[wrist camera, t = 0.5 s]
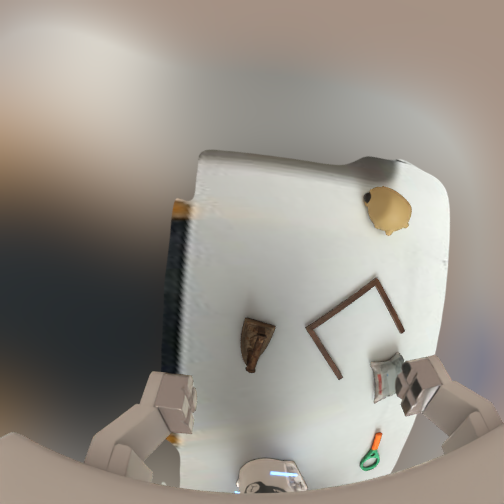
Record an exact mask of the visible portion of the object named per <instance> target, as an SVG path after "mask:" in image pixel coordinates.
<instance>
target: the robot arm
mask: <svg viewBox="0 0 504 504" xmlns="http://www.w3.org/2000/svg"><path fill="white" fill-rule="evenodd" d="M401 369H402V372H400V373H399V374H398V375H397V377H396V380H395V392H396V394H397V396H398V397H399V398H401V399H402V402H401V407H402V409H403V412H404V414H405V417H406V416H410V415H414V414H417V413H421V412H422V414H424V415H425V416H426V417H427V418H428V419H429V420H431V421H432V422H433V423H434V424H435V425H436V426H437V427H439V428H440V429H441V430H442V431H443V432H444V433H446V434H447V435H448V436H449V438H448V439H447V440H446V441H445V442H444V443H443V444H442V449H443V452H444V455H442V456H440V457H437V458H435V459H432V460H430V461H427V462H424V463H422V464H419V465H416V466H413V467H411V468H408V469H405V470H402V471H398V472H395V473H392V474H388V475H385V476H381V477H377V478H373V479H369V480H365V481H361V482H356V483H351V484H346V485H341V486H335V487H329V488H322V489H315V490H307V485H306V483H305V481H304V480H303V478H302V476H301V474H300V472H299V470H298V468H297V466H296V464H295V463H294V462H293V461H280V460H276V459H268V458H264V459H257V460H253V461H250V462H248V463H246V464H245V465H244V466H243V467H242V468H241V469H240V472H239V479H238V480H237V482H236V486H237V487H239V492H236V491H235V493H224V492H210V491H200V490H191V489H184V488H177V487H171V486H165V485H159V484H155V483H151V482H152V477H153V472H152V471H151V470H150V469H149V468H148V467H147V466H146V465H145V463H144V462H143V461H144V460H145V459H146V458H147V457H148V456H149V455H150V454H151V453H152V452H153V451H154V450H155V449H156V448H157V447H158V446H159V445H160V444H161V443H162V442H163V440H164V439H165V438H166V437H167V436H168V435H169V434H170V432H176V433H187V434H192V431H193V425H194V417H193V413H194V412H195V411H196V408H197V392H196V388H195V387H193V382H194V381H193V377H192V375H183V374H173V373H164V372H154V371H153V372H152V373H151V374H150V376H149V379H148V382H147V384H146V387H145V390H144V393H143V396H142V399H141V402H140V404H135V405H134V406H133V407H131V408H130V409H129V410H128V411H126V412H125V413H124V414H122V415H121V416H120V417H118V418H117V419H116V420H114V421H113V422H112V423H111V424H109V425H108V426H106V427H105V428H104V429H102V430H101V431H100V432H98V433H97V434H95V435H94V437H93V439H92V442H91V444H90V447H89V450H88V453H87V456H86V458H85V461H84V463H81V462H79V461H76V460H74V459H71V458H69V457H66V456H64V455H62V454H59V453H57V452H55V451H53V450H50V449H48V448H46V447H44V446H42V445H40V444H38V443H36V442H34V441H32V440H30V439H28V438H26V437H25V436H23V435H21V434H19V433H16V432H12V433H9V434H7V435H5V436H3V437H1V438H0V504H504V423H503V422H502V420H501V418H500V416H499V415H498V413H497V411H496V409H495V407H494V406H493V404H492V403H491V402H490V401H488V400H487V399H485V398H483V397H481V396H480V395H478V394H476V393H475V392H473V391H471V390H470V389H468V388H466V387H465V386H463V385H461V384H460V383H458V382H456V381H452V380H451V378H450V376H449V375H448V373H447V371H446V369H445V368H444V366H443V364H442V363H441V362H440V360H439V358H438V357H437V356H436V355H433V356H428V357H423V358H419V359H414V360H410V361H405V362H404V363H403V364H402V366H401Z"/></svg>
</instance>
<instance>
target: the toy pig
mask: <svg viewBox="0 0 504 504" xmlns="http://www.w3.org/2000/svg"><path fill="white" fill-rule="evenodd" d="M364 203H365V205H366V206H367V207H368V213H369V216H370V219H371V221H372V222H373V223H374V225H375V228H376V229H381V230H383V231H385V233H386V235H388V236H389V235H391V234H392V233H393V232H394V231H397V230H400V229H402V228H407V227H408V226H409V224H408V222H409V220H410V217H411V212H412V209H411V205H410V204H409V202H408V201H407V200H406V199H405V198H404V197H403V196H402V195H400V194H399V193H398V192H396V191H394V190H393V189H390V188H388V187H384V186H382V187H375V188H373V189H370V192H369V193H366V194H365V195H364Z"/></svg>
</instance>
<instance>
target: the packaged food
mask: <svg viewBox="0 0 504 504" xmlns="http://www.w3.org/2000/svg"><path fill="white" fill-rule="evenodd" d="M403 363H404V359H403V357H402V355H400V353H396V354H395V356H394V357H393V358H391V359H390V360H389V361H386V362H371V363H370V365H371V367H372V369H373V370H374V378H375V384H376V385H375V398H374V404H375V403H377V402H378V401H380V400H381V399H384V398H386V397H387V396H391V395H393V394H395V393H396V392H395V380H396V377H397V375H398V374H399V373H400V372H402V369H401V366H402V364H403Z"/></svg>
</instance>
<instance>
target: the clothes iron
mask: <svg viewBox="0 0 504 504" xmlns="http://www.w3.org/2000/svg"><path fill="white" fill-rule="evenodd" d="M275 327H276V326H274V325H271V324H267V323H264V322H261V321H257V320H254V319H250V318H245V321H244V324H243V328H242V333H241V353H242V357H243V360H244V362H245V364H246V366H247V367H246V371H248V372H250V373H255V367H256V364H257V361H258V359H259V356H260V355H261V354H262V353H263V352H264V350H265V349H266V347H267V345H268V344H269V342H270V340H271V338H272V335H273V333H274V330H275Z"/></svg>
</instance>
